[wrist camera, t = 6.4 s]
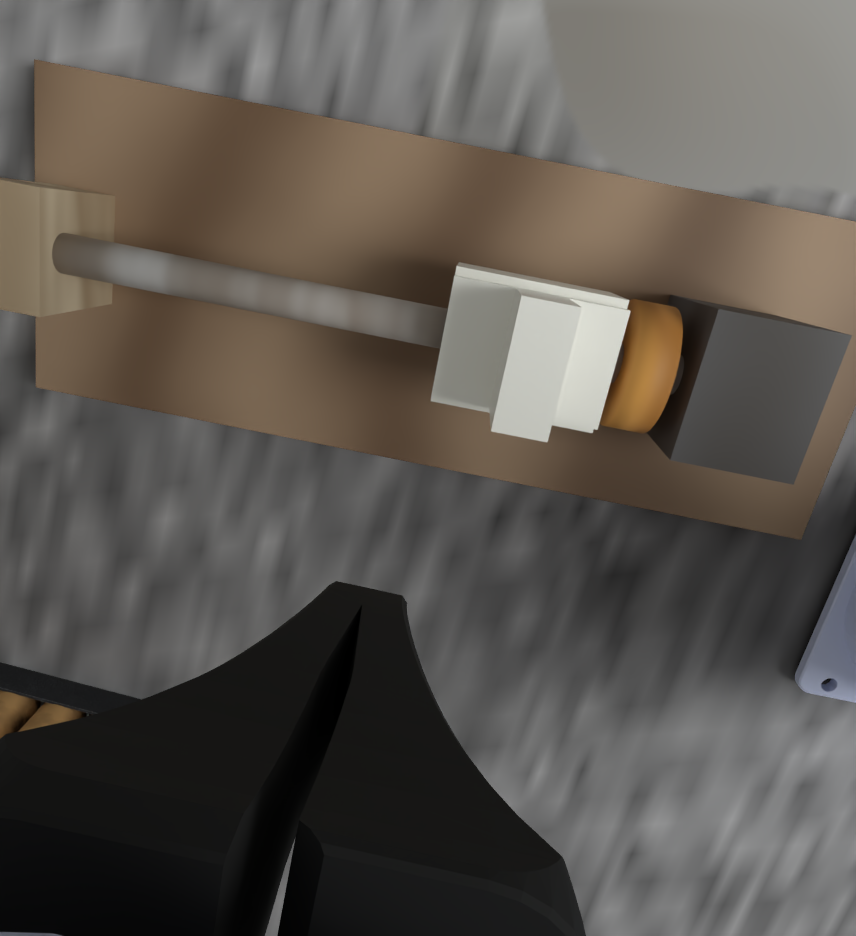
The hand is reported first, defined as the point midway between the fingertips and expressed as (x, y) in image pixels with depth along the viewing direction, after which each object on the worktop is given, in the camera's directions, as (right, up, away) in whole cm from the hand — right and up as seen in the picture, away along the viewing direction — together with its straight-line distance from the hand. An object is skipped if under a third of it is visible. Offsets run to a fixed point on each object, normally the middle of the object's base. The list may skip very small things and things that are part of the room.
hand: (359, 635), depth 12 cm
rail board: (+2, +8, +8) cm, 11 cm away
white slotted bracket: (+4, +7, +6) cm, 10 cm away
